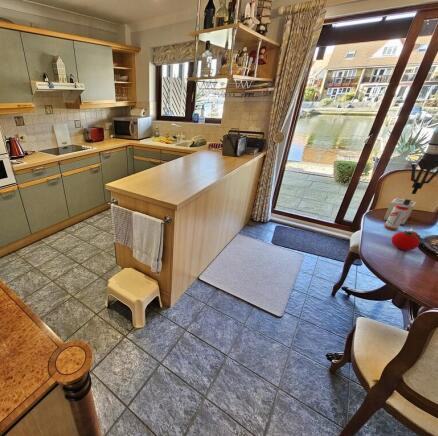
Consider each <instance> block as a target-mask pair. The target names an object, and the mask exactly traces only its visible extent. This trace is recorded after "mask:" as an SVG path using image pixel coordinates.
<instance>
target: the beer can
mask: <svg viewBox="0 0 438 436" xmlns="http://www.w3.org/2000/svg"><path fill="white" fill-rule="evenodd" d="M407 212H408V206H407V205H404V204H397V205H396V206H395V207H394V208H393V210H392V212H391V214H390V216H389V218H388V220H387V221H385V224H384V228H385V229H387V230H389V231H398V230H399V228H400V226H401V225H400V224H401V222H402V221H403V219H404V217H405V215H406V213H407Z"/></svg>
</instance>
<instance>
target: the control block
mask: <svg viewBox="0 0 438 436" xmlns="http://www.w3.org/2000/svg"><path fill="white" fill-rule="evenodd" d="M417 237H418V239H419V245H418V246H417V247H419V246H420V247H421V245H422V243H423V241H424V237H422V236H421V235H420V234H418V235H417Z"/></svg>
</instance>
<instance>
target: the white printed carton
mask: <svg viewBox="0 0 438 436" xmlns="http://www.w3.org/2000/svg"><path fill="white" fill-rule="evenodd" d="M404 201H405V199H402V198H398V197H394V199H393V200H392V201H391V202H390V203H389V206H388V208H387V210H386V213H385V214H384V217H383V218H382V221H385V222H387V220H388V218H389V216H390V214H391V212H392V210H393V208H394V207H395V206H396V205H397V204H403V203H404ZM416 204H417V202H416V201H412V200H411V202H410V204H409V205H407V206H408V212H407V213H406V215H405V217H404V219H403V221H402V222H401V224H400V226H405V225H406V223H407V222H408V221H409V219H408V218H409V217H410V215H411V214H412V212H413V210H414V208H415V205H416ZM404 205H405V204H404Z"/></svg>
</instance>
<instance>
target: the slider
mask: <svg viewBox="0 0 438 436" xmlns="http://www.w3.org/2000/svg"><path fill="white" fill-rule="evenodd" d="M404 200H405V201H404V203H403V204H405V205H409V204H410V202H411V201H412V199H409V198H405V199H404Z"/></svg>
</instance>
